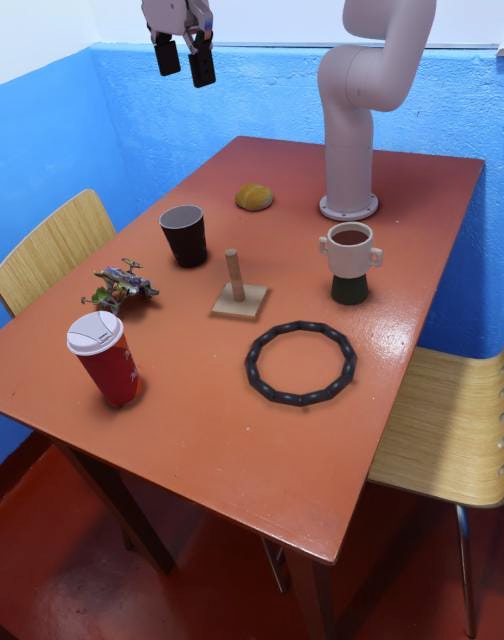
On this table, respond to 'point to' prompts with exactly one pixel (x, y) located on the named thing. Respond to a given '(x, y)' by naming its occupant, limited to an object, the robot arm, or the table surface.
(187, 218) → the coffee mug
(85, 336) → the paper cup
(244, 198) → the bread roll
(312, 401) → the ring
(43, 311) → the table surface
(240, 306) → the post
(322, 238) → the white handled cup
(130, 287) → the passion flower
